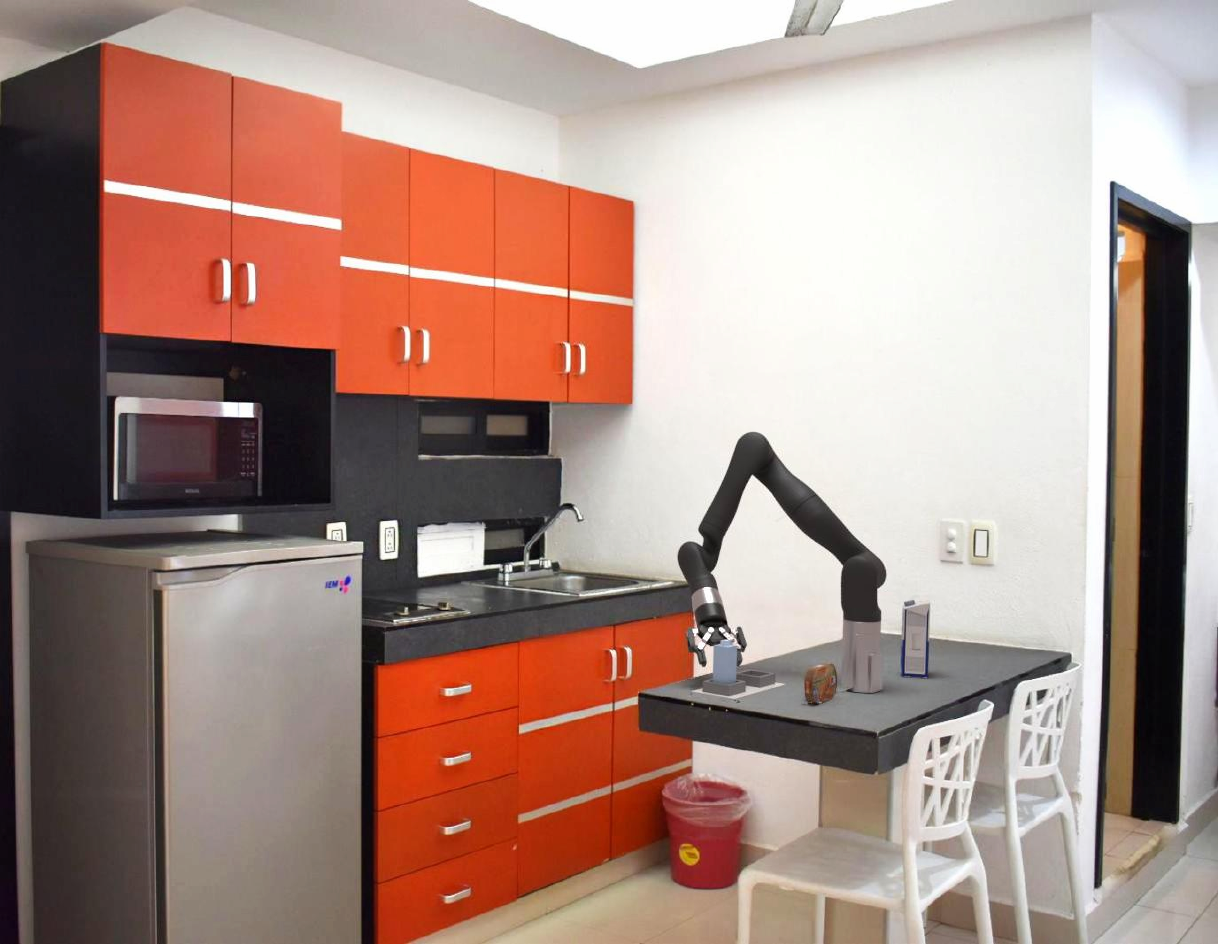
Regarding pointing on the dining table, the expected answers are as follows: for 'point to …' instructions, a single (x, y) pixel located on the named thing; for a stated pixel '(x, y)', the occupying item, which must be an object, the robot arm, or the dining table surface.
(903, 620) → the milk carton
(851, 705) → the dining table surface
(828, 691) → the tin
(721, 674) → the plug
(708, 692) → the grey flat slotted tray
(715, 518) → the robot arm
